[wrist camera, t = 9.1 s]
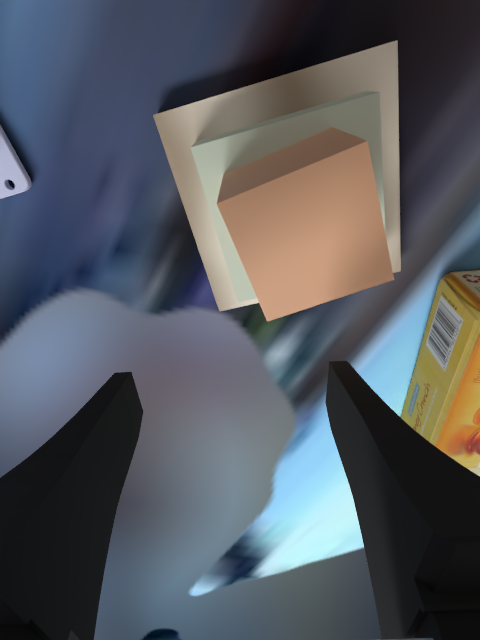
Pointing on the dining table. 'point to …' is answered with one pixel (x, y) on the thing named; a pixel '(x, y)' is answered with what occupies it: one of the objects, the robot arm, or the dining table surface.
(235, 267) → the sage green slab
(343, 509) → the dining table surface
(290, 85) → the ash base slab
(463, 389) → the cereal box
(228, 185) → the terracotta cube
